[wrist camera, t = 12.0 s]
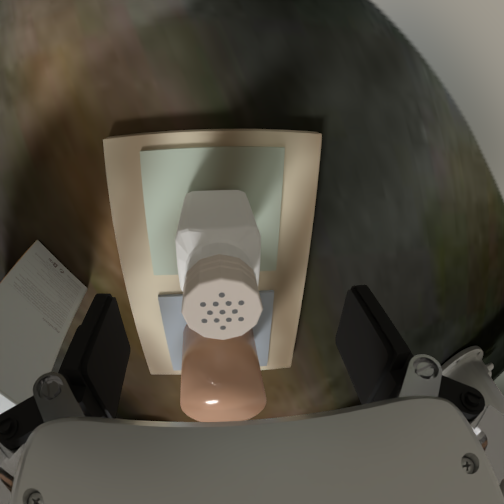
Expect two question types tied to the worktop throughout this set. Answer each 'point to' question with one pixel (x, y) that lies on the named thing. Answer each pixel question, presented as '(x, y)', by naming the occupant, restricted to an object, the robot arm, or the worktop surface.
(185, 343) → the peach rounded cylinder
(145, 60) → the worktop surface
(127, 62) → the worktop surface
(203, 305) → the salt shaker
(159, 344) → the board
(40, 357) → the small box
